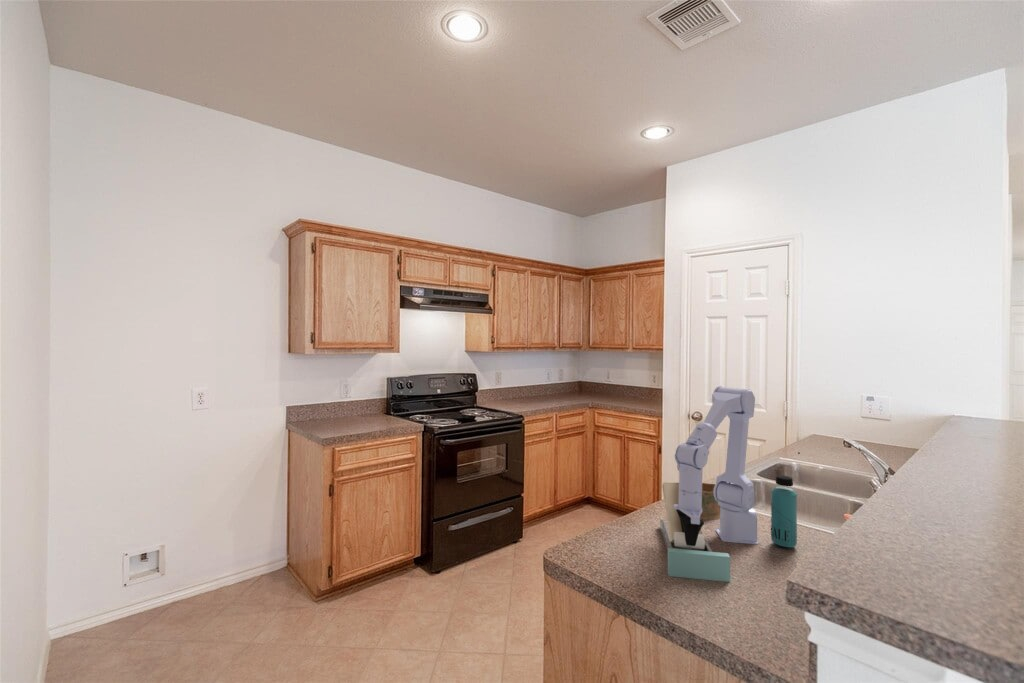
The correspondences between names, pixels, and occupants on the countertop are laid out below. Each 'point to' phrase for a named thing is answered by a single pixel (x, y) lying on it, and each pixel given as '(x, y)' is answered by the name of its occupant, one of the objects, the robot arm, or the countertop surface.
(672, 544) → the roller track
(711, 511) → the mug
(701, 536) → the roller
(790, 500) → the beverage bottle
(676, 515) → the slab
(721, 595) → the countertop surface
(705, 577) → the rail
